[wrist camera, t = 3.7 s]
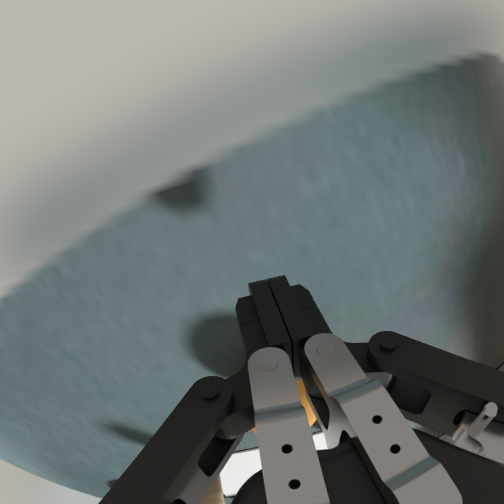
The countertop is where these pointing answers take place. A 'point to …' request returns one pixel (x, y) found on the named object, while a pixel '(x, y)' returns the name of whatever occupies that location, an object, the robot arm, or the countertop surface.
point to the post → (214, 494)
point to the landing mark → (250, 466)
